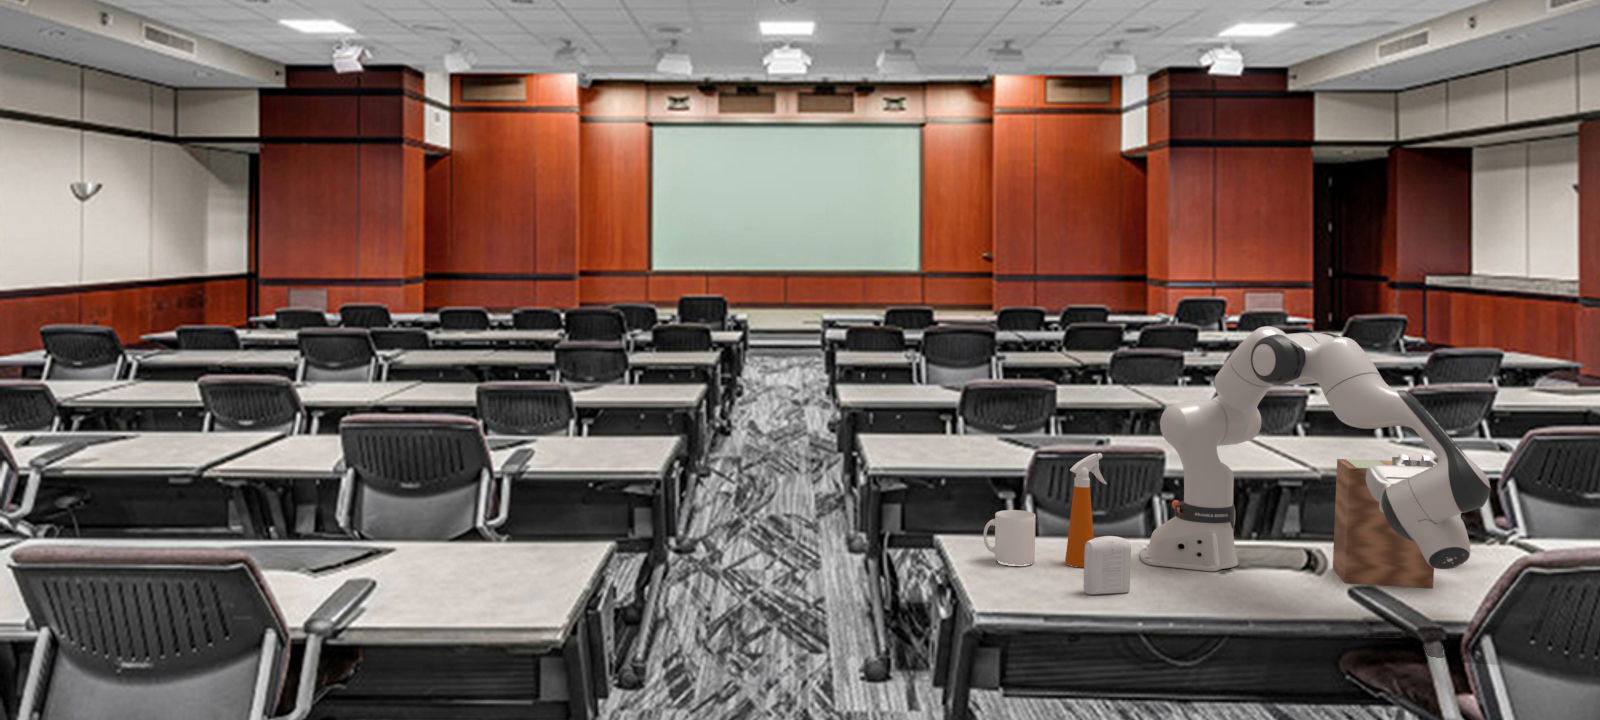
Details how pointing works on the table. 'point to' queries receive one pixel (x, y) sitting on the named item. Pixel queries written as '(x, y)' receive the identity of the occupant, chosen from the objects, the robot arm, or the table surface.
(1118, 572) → the photo printer
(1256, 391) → the robot arm
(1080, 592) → the table surface
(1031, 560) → the mug
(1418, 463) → the grooved metal rail
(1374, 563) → the stand
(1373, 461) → the pad
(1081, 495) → the spray bottle
